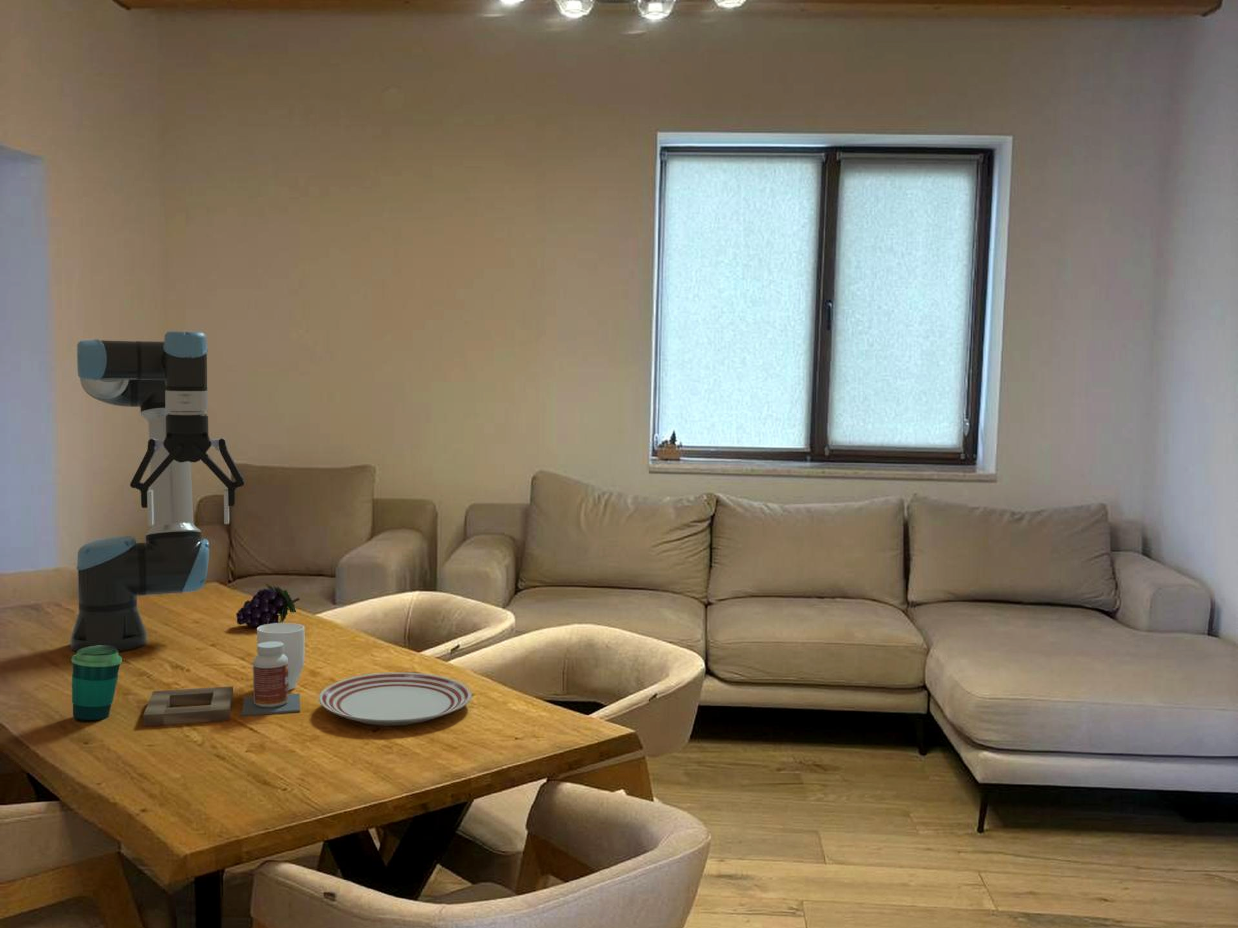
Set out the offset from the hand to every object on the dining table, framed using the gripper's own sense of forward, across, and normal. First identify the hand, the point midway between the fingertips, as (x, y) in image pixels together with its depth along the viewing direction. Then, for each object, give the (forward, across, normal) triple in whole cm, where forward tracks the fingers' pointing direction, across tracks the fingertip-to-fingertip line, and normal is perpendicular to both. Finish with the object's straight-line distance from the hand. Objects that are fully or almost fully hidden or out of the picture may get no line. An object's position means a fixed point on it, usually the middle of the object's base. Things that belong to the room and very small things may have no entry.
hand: (189, 524), depth 212 cm
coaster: (+32, +15, -16) cm, 39 cm away
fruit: (+32, +13, +46) cm, 58 cm away
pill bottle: (+31, +15, -16) cm, 38 cm away
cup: (+32, -14, -15) cm, 38 cm away
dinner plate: (+32, +37, -23) cm, 54 cm away
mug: (+32, +16, -4) cm, 36 cm away
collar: (+32, +1, -16) cm, 36 cm away
